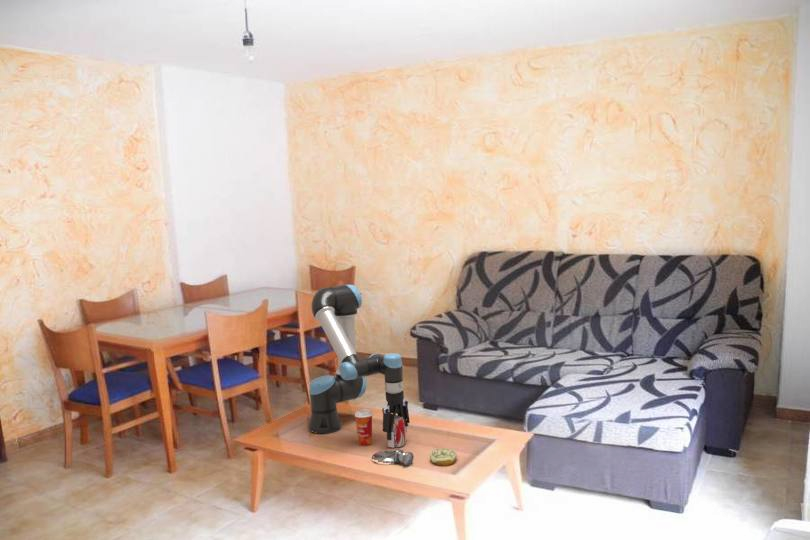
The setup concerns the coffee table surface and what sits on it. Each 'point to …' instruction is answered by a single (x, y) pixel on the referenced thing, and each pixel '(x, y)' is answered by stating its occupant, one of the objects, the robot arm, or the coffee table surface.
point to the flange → (384, 456)
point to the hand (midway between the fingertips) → (397, 443)
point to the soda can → (399, 431)
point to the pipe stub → (403, 457)
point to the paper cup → (364, 426)
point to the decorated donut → (443, 456)
